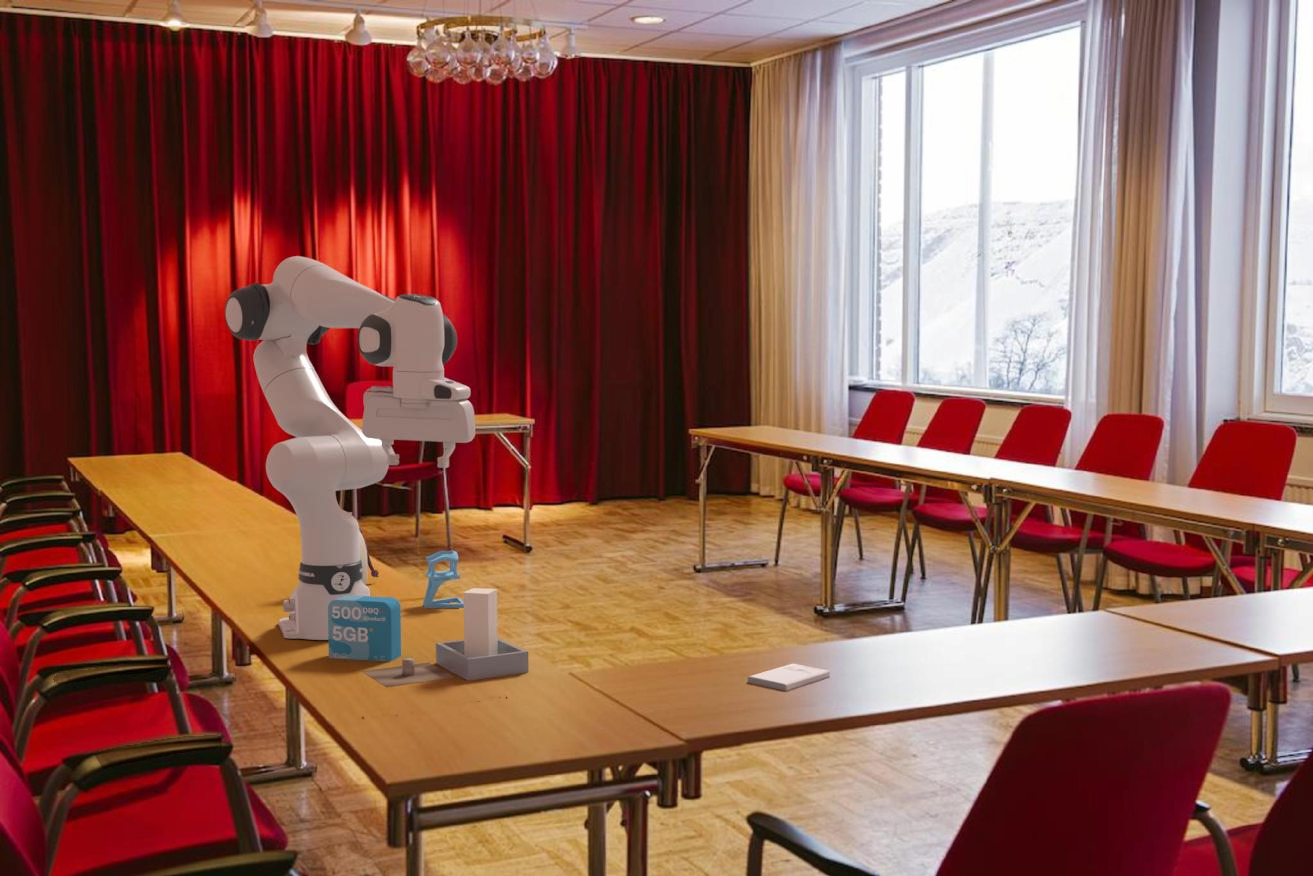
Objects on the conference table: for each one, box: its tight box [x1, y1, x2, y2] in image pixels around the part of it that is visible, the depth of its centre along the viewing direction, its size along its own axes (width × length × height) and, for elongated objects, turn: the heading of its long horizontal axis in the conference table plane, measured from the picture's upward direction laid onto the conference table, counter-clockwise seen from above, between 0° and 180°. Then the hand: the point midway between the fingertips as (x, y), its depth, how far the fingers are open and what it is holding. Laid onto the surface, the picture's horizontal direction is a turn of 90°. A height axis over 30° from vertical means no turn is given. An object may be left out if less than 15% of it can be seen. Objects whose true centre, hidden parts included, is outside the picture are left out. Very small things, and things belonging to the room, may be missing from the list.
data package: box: [327, 595, 402, 662], centre depth 240 cm, size 12×4×12 cm, turn 77°
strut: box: [463, 587, 499, 658], centre depth 232 cm, size 4×4×14 cm
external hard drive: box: [747, 663, 831, 692], centre depth 230 cm, size 2×8×12 cm
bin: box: [435, 637, 529, 682], centre depth 232 cm, size 14×11×5 cm
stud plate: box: [362, 657, 456, 688], centre depth 228 cm, size 12×12×4 cm
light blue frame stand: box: [422, 549, 464, 609], centre depth 292 cm, size 8×8×12 cm
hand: (418, 466), depth 238 cm, fingers open, 8 cm apart
